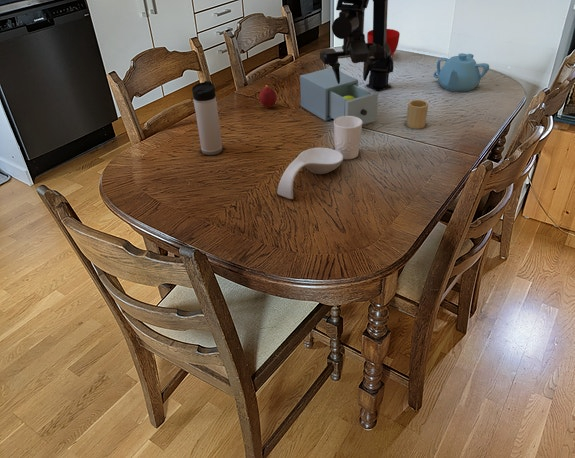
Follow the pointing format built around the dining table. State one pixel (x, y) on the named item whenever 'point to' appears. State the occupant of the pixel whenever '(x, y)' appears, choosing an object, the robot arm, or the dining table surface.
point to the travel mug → (207, 118)
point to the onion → (267, 97)
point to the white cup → (347, 136)
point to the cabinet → (321, 90)
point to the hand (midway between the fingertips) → (351, 82)
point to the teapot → (460, 73)
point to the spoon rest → (309, 167)
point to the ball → (349, 97)
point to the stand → (417, 114)
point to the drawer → (353, 103)
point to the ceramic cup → (387, 39)
